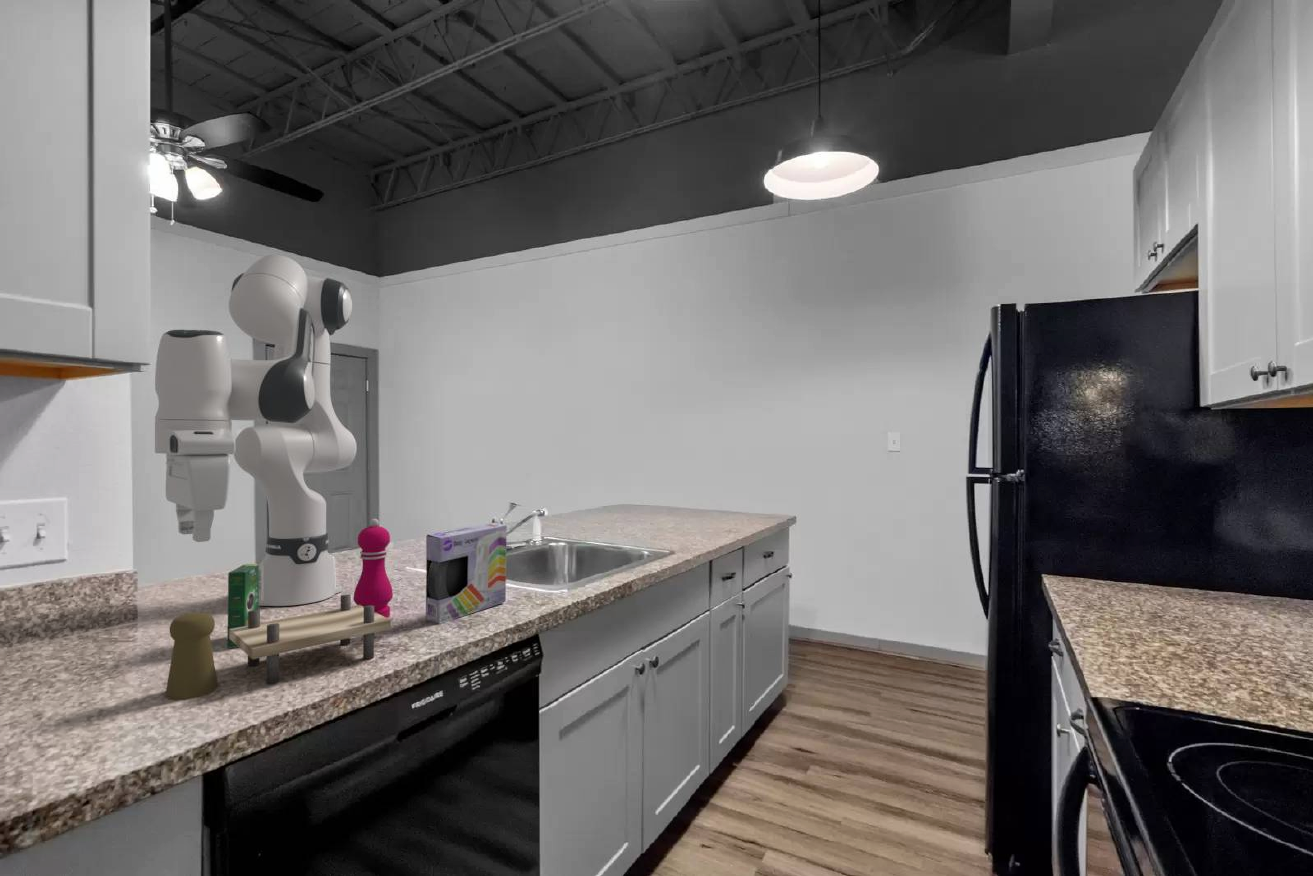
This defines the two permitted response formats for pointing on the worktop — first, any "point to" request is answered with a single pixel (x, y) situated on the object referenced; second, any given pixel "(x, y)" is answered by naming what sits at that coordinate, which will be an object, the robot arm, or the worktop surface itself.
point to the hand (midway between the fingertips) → (193, 537)
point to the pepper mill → (374, 570)
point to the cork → (191, 657)
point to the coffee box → (242, 596)
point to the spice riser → (307, 633)
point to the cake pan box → (465, 571)
